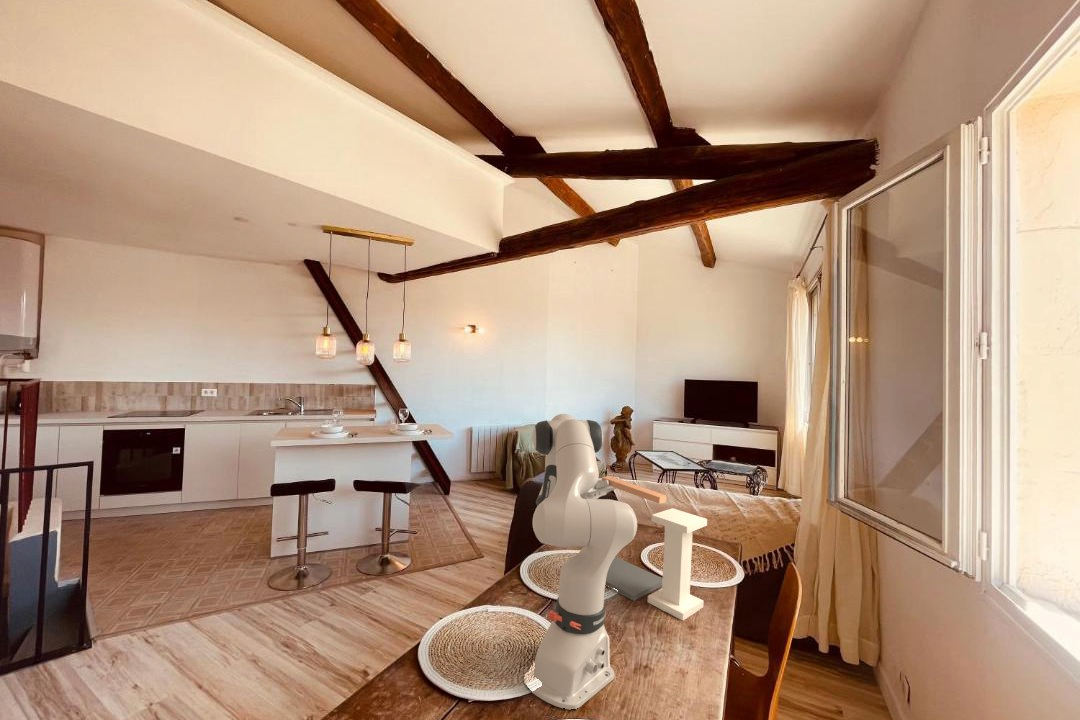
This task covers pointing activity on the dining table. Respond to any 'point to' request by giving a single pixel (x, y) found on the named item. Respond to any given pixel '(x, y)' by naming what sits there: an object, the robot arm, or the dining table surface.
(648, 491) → the slat
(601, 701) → the dining table surface
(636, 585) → the mat
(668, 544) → the stand
